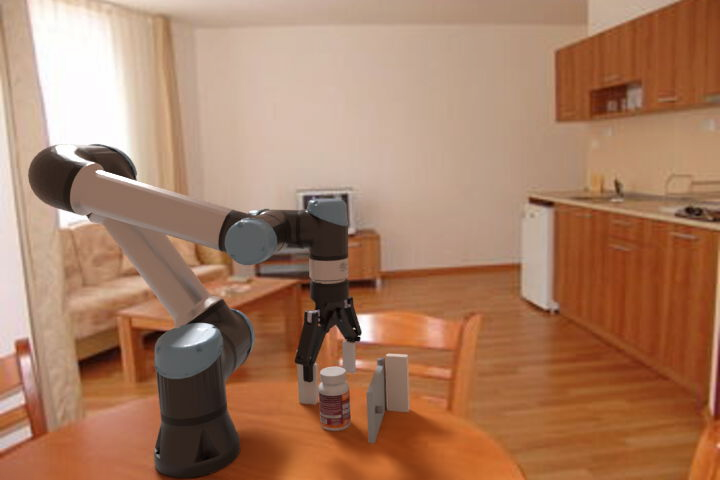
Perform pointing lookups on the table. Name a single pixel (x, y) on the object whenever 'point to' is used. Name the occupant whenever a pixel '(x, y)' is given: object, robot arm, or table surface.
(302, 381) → the wall frame
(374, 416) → the door
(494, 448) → the table surface
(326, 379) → the pill bottle
